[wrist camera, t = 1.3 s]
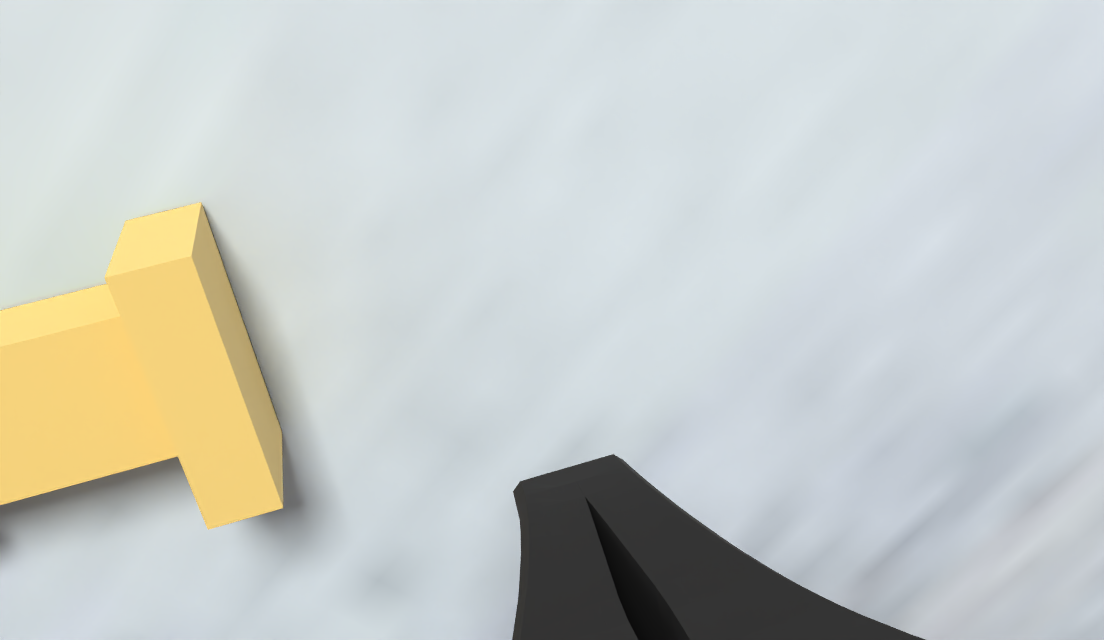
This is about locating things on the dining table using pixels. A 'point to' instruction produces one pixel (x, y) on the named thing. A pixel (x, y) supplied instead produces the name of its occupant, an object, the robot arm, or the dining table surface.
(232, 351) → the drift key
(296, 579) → the dining table surface
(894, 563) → the dining table surface
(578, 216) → the dining table surface
